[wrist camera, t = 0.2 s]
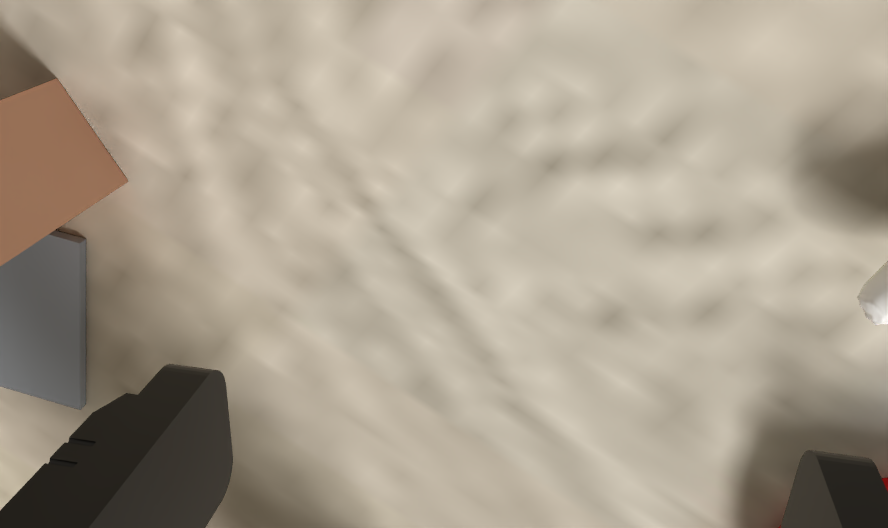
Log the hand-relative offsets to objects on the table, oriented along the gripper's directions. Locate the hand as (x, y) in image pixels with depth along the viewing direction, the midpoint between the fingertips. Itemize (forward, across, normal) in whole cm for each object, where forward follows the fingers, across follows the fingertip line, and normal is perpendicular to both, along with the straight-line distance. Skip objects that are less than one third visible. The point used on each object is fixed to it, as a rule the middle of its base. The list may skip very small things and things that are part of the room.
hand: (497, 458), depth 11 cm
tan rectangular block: (+29, -27, -7) cm, 40 cm away
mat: (+29, -33, -17) cm, 47 cm away
